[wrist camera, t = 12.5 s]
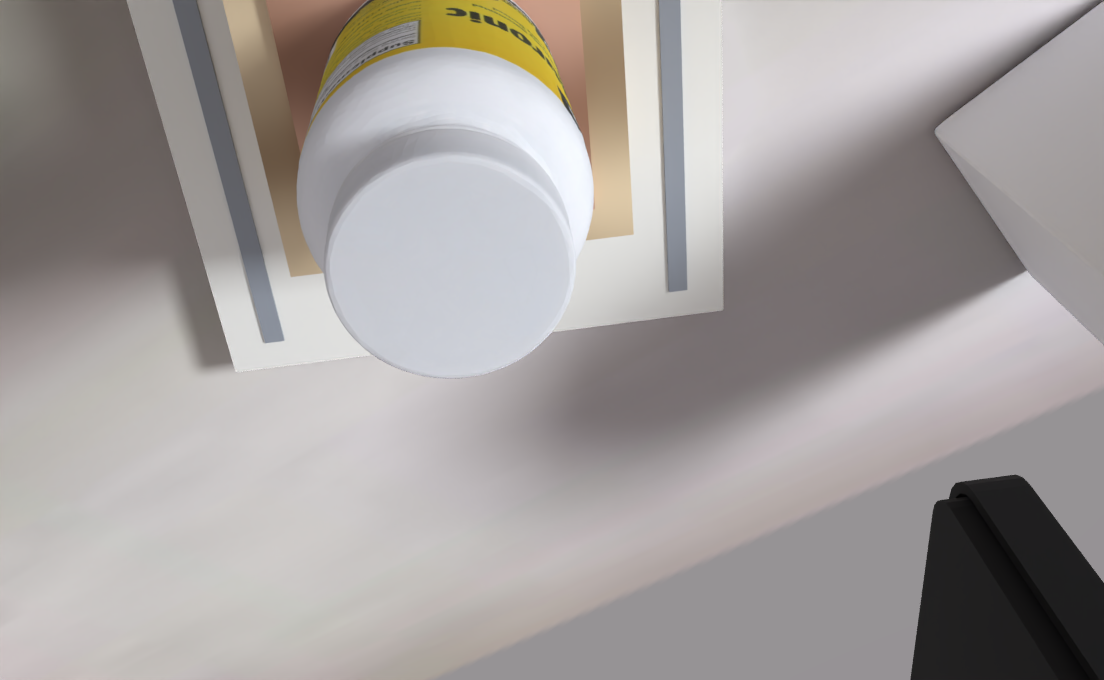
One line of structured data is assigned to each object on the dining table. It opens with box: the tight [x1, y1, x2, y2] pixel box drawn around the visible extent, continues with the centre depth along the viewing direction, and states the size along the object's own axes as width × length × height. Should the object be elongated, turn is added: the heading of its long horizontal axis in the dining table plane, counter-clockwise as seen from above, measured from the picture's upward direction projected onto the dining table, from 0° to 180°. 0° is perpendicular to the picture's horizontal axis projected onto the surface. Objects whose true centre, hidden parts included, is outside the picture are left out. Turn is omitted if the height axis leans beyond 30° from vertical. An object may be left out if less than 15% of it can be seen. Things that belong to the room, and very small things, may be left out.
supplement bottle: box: [297, 0, 594, 379], centre depth 21 cm, size 5×5×10 cm
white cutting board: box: [126, 0, 723, 373], centre depth 30 cm, size 20×16×2 cm
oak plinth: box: [222, 0, 634, 277], centre depth 27 cm, size 9×9×5 cm
